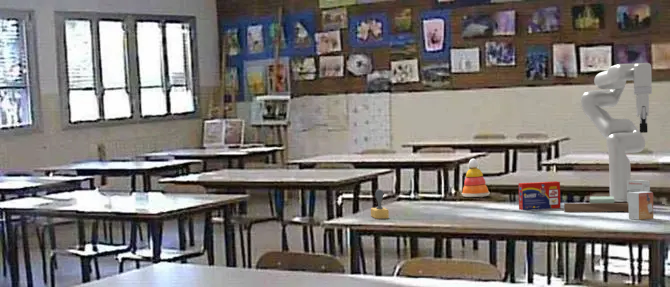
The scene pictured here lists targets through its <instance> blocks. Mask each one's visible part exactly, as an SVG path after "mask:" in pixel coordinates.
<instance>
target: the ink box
mask: <svg viewBox="0 0 670 287" xmlns="http://www.w3.org/2000/svg"><path fill="white" fill-rule="evenodd" d="M642 191H646V192H651V181H650V180H646V179H645V180H643V179H642V180H641V179H631V180H628V181H627V202H626V203H629V201H628V193H629V192H642Z"/></svg>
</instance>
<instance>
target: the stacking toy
mask: <svg viewBox="0 0 670 287" xmlns="http://www.w3.org/2000/svg"><path fill="white" fill-rule="evenodd" d="M468 167H469V169H468V170H467V171H466V174H465V179H464V184H463V188H462V192H461V196H463V197H465V198H483V197H487V196H490V194H491V193H490V191H489V189H488V186H487V185H486V184H487V182H486V180H485V179H486V178H484V174H483V171H482V170H481V169H480V168H478V167H479V162H478V160H477V159H476V158H471V159H470V160H469V162H468Z"/></svg>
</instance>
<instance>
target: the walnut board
mask: <svg viewBox="0 0 670 287" xmlns="http://www.w3.org/2000/svg"><path fill="white" fill-rule="evenodd" d="M563 207H564V208H563V209H564V210H563V211H564V213H581V212H582V213H608V212H607V211H624V212H623V213H629V203H628V202H614V203H590V202H580V203H579V202H573V203H571V202H570V203H567V202H564V204H563ZM602 211H603V212H602ZM604 211H606V212H604Z"/></svg>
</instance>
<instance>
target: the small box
mask: <svg viewBox="0 0 670 287" xmlns="http://www.w3.org/2000/svg"><path fill="white" fill-rule="evenodd" d="M628 201H629V212H628V219H629V220H636V221H639V220H653V219H654V192H652V191H650V192H646V191H642V192H629V193H628Z"/></svg>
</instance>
